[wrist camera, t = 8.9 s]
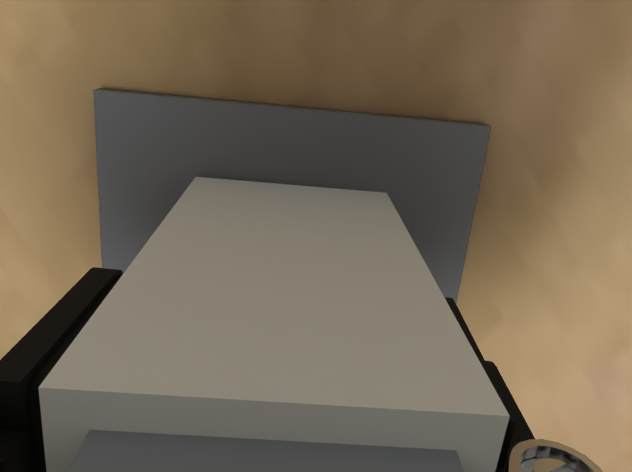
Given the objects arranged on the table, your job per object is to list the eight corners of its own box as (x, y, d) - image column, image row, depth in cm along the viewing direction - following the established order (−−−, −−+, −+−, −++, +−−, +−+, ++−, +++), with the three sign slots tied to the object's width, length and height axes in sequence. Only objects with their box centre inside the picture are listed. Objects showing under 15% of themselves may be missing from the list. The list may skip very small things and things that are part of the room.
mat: (99, 88, 14) (93, 89, 14) (486, 124, 14) (491, 126, 14) (112, 385, 17) (108, 393, 17) (430, 410, 17) (433, 419, 17)
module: (195, 176, 14) (-26, 475, 4) (386, 192, 14) (559, 505, 5) (192, 344, 16) (26, 819, 6) (363, 355, 16) (455, 826, 6)
